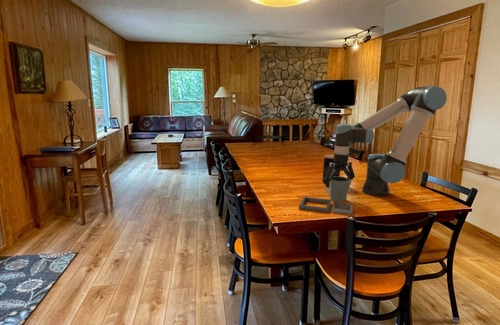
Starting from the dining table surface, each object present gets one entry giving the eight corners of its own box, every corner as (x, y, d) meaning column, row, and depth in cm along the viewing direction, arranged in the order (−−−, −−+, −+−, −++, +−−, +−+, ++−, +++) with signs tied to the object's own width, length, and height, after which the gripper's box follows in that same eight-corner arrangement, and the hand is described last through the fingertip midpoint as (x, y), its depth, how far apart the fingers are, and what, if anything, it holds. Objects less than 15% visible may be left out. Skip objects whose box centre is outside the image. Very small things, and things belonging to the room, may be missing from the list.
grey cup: (344, 196, 177) (345, 176, 175) (350, 202, 167) (352, 181, 165) (326, 196, 177) (327, 176, 174) (331, 202, 167) (333, 181, 164)
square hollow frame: (330, 203, 166) (331, 199, 165) (328, 212, 152) (328, 208, 152) (303, 200, 170) (303, 196, 170) (298, 209, 157) (299, 205, 157)
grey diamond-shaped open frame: (352, 208, 159) (352, 204, 158) (351, 214, 150) (352, 210, 149) (333, 206, 162) (333, 202, 161) (331, 212, 153) (332, 208, 152)
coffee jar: (321, 184, 202) (322, 156, 199) (323, 180, 212) (325, 154, 209) (338, 185, 199) (340, 158, 195) (339, 181, 209) (341, 155, 205)
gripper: (353, 151, 175) (350, 187, 180) (318, 153, 164) (315, 192, 169) (364, 153, 169) (360, 191, 173) (327, 156, 158) (324, 196, 162)
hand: (338, 191), depth 171 cm, fingers open, 13 cm apart
